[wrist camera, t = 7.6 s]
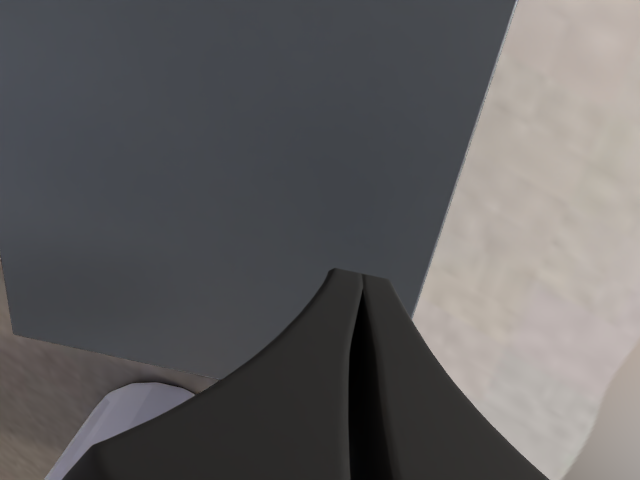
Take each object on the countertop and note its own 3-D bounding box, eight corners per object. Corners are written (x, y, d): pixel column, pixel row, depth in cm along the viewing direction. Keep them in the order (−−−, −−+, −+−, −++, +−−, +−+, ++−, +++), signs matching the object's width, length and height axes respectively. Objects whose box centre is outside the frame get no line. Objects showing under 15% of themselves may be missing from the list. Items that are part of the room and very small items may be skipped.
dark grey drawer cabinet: (138, -136, 16) (-87, -268, 8) (475, -70, 16) (566, -143, 8) (139, 221, 22) (12, 335, 14) (380, 272, 22) (380, 415, 14)
